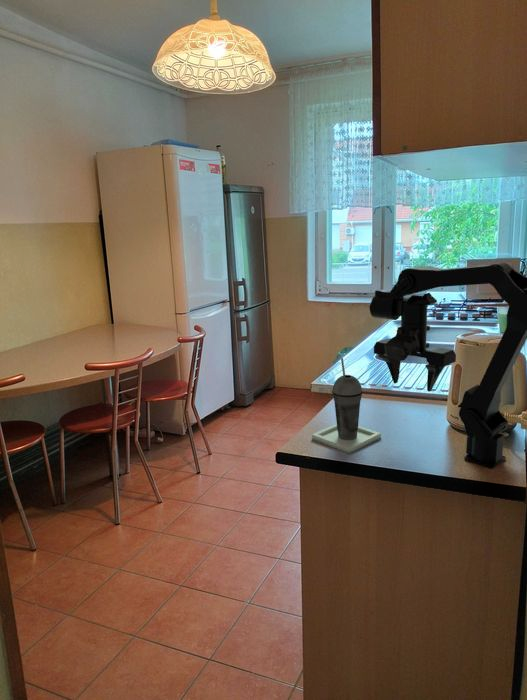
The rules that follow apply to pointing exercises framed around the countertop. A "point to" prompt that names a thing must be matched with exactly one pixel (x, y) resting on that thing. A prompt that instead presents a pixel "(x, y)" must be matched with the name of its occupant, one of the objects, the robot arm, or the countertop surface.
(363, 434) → the tray
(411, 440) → the countertop surface
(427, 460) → the countertop surface
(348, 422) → the beverage cup
